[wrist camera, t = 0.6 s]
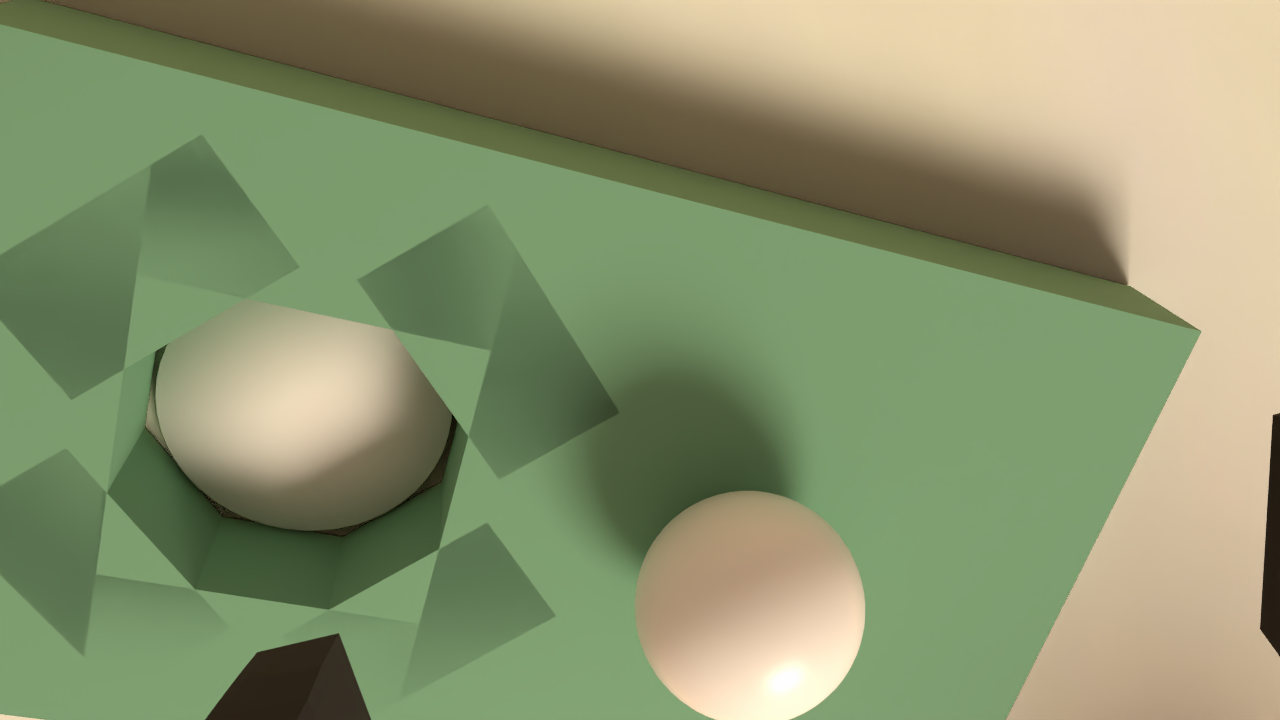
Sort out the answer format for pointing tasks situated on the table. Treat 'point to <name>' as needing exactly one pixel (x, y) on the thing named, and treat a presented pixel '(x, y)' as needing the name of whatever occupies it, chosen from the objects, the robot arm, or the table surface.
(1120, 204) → the table surface
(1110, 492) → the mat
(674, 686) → the ball
